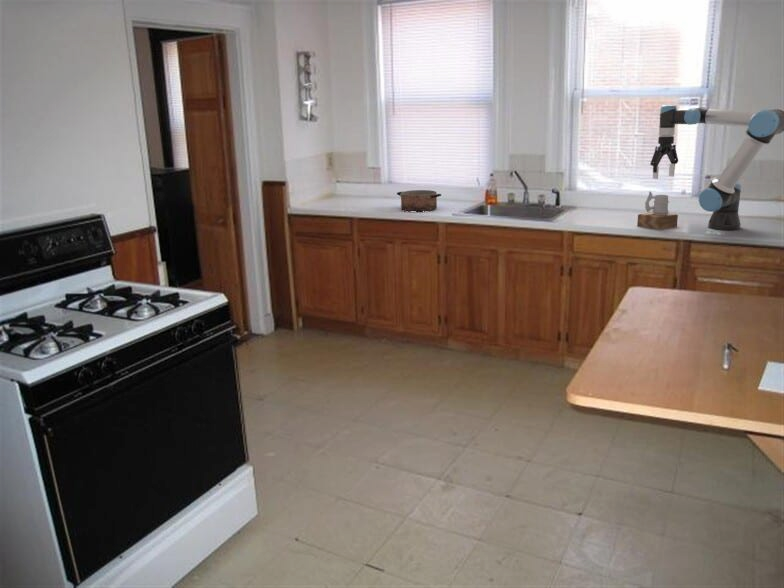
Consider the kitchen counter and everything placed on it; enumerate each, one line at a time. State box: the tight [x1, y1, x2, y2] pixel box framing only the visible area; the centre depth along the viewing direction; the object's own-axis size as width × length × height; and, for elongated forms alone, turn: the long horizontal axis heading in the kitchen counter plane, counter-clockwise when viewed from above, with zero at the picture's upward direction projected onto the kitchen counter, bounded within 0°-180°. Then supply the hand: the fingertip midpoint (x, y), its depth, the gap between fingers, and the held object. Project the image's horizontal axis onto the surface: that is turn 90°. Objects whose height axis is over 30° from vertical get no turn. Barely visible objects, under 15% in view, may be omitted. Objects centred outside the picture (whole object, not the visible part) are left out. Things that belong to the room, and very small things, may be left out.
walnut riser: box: [637, 211, 679, 230], centre depth 373 cm, size 14×14×6 cm
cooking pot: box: [396, 189, 442, 213], centre depth 445 cm, size 30×22×11 cm
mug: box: [644, 191, 670, 215], centre depth 370 cm, size 8×12×12 cm, turn 80°
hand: (663, 177), depth 370 cm, fingers open, 13 cm apart
